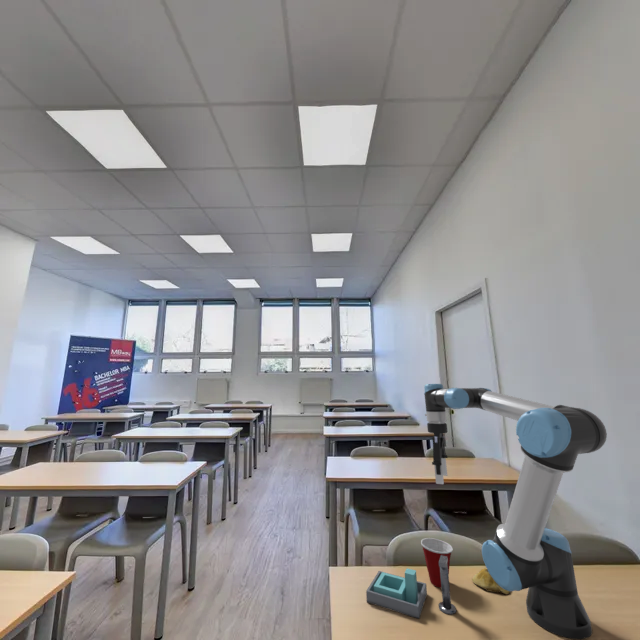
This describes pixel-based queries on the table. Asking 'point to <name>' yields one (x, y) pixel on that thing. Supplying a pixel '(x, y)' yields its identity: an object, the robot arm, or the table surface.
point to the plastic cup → (435, 557)
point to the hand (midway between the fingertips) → (441, 479)
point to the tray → (395, 603)
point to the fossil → (487, 582)
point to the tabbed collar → (398, 586)
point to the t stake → (445, 588)
